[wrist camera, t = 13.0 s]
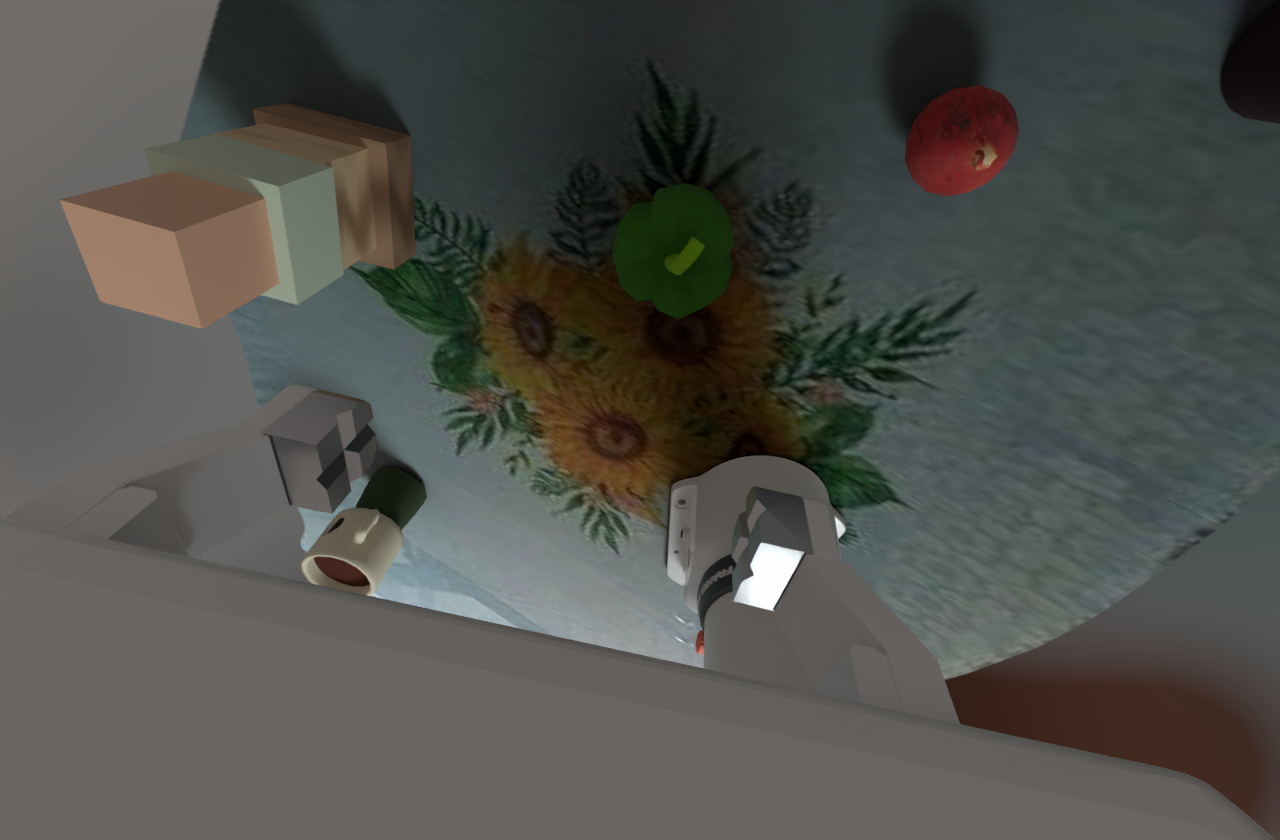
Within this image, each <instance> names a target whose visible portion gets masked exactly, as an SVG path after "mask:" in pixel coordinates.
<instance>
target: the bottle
mask: <svg viewBox="0 0 1280 840" xmlns="http://www.w3.org/2000/svg"><path fill="white" fill-rule="evenodd" d="M1223 97H1224V98H1225V100H1226V102H1227V104H1228V106H1229V108H1230V109H1231V110H1232V111H1234V112H1236V113H1237V114H1239V115H1241V116H1242V117H1244V118H1248V119H1254V120H1260V121H1266V122H1273V123H1279V124H1280V1H1279V2H1278V3H1276V4H1275V5H1274V6H1272V7H1271V8H1270V9H1268V10H1267V11H1266V12H1265V13H1263V14H1262V15H1261V16H1260V17H1259V18H1258V19H1257V21H1256V22H1255V23H1254V24H1253V25H1252V26H1251V27H1250V28H1249V29H1248V30H1247V32H1246V33H1245V34H1244V35H1243V36H1242V38H1241V39H1240V41H1239V43H1238V44H1237V46H1236V47H1235V49H1234V51H1233V52H1232V54H1231V56H1230V57H1229V60H1228V63H1227V66H1226V69H1225V72H1224V76H1223Z"/></svg>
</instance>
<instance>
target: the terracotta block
mask: <svg viewBox="0 0 1280 840" xmlns="http://www.w3.org/2000/svg"><path fill="white" fill-rule="evenodd" d="M60 202H61V204H62V207H63V209H64V212H65V214H66V217H67V219H68V222H69V224H70V227H71V229H72V232H73V234H74V237H75V239H76V242H77V244H78V247H79V249H80V252H81V254H82V257H83V259H84V262H85V264H86V267H87V269H88V271H89V274H90V277H91V279H92V282H93V284H94V286H95V289H96V292H97V294H98V297H99V299H100V301H101V302H104V303H108V304H112V305H115V306H119V307H123V308H126V309H130V310H134V311H138V312H142V313H145V314H149V315H152V316H156V317H160V318H164V319H167V320H171V321H175V322H178V323H183V324H186V325H189V326H193V327H197V328H201V329H202V328H204V327H206V326H208V325H209V324H211V323H213V322H214V321H216V320H218V319H220V318H221V317H223V316H225V315H226V314H228V313H230V312H232V311H233V310H235V309H237V308H238V307H240V306H242V305H244V304H245V303H247V302H249V301H251V300H252V299H254V298H256V297H257V296H259V295H261V294H263V293H264V292H266V291H268V290H269V289H271V288H273V287H275V286H276V285H278V284H280V282H279V276H278V270H277V265H276V259H275V253H274V247H273V241H272V236H271V230H270V224H269V218H268V212H267V207H266V201H265V198H262V197H259V196H255V195H252V194H248V193H245V192H241V191H238V190H235V189H231V188H228V187H224V186H221V185H217V184H214V183H210V182H207V181H203V180H200V179H196V178H193V177H189V176H186V175H182V174H179V173H175V172H172V171H170V172H166V173H162V174H158V175H155V176H151V177H147V178H143V179H139V180H135V181H131V182H128V183H124V184H120V185H116V186H112V187H108V188H105V189H100V190H97V191H93V192H89V193H85V194H81V195H78V196H73V197H70V198H66V199H62V200H60Z"/></svg>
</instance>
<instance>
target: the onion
mask: <svg viewBox="0 0 1280 840" xmlns="http://www.w3.org/2000/svg"><path fill="white" fill-rule="evenodd" d="M1018 131H1019V127H1018V122H1017V117H1016V112H1015V110H1014V108H1013V107H1012V105H1011V104H1010V103H1009V101H1008V100H1007V99H1006V98H1005V96H1004V95H1003V94H1001V93H1000V92H997V91H995V90H992V89H989V88H986V87H983V86H972V87H963V88H955V89H951V90H949V91H948V92H946V93H944V94H942V95H940V96H939V97H937V98H935V99H933V100H932V101H930V102H929V103H928V105H927V106H926V107H925V108H924V109H923V110H922V112H921V113H920V114H919V115H918V116H917V117H916V119H915V120H914V122H913V125H912V127H911V130H910V132H909V135H908V138H907V140H906V155H905V160H906V164H907V166H908V169H909V171H910V174H911V177H912V179H913V180H914V181H915V182H916V183H917V184H918V185H919V186H921V187H922V188H923V189H924V190H925V191H927V192H930V193H934V194H939V195H944V196H951V195H957V194H962V193H967V192H969V191H972V190H974V189H976V188H977V187H979V186H981V185H983V184H985V183H987V182H989V181H990V180H991V179H992V178H993V177H994V176H995V175H996V174H997V173H998V172H999V171H1000V170H1001V169H1002V168H1003V167H1004V166H1005V164H1006V162H1007V161H1008V159H1009V157H1010V156H1011V154H1012V152H1013V151H1014V149H1015V145H1016V140H1017V136H1018Z"/></svg>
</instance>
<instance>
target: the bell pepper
mask: <svg viewBox="0 0 1280 840" xmlns="http://www.w3.org/2000/svg"><path fill="white" fill-rule="evenodd" d="M733 246H734V239H733V233H732V228H731V223H730V218H729V213H728V212H727V211H726V209H725V208H724V207H723V206H722V205H721V204H720V203H719V201H718V200H717V199H716V198H715V197H714V196H713V195H712V193H711V192H710V191H709V190H706V189H703V188H700V187H697V186H693V185H690V184H687V183H683V184H679V185H674V186H669V187H665V188H660V189H657V191H656V193H655V196H654V198H653V200H652V202H642V203H638V204H635V205H633V206H632V207H631V208H630V210H629V211H628V212H627V213H626V215H625V216H624V217H623V218H622V219H621V221H620V223H619V224H618V226H617V228H616V233H615V239H614V245H613V252H612V257H613V261H614V264H615V268H616V272H617V275H618V279H619V283H620V286H621V287H622V288H623V289H624V290H625V291H626V292H627V293H628V294H629V295H630V296H631V297H632V298H633V299H634V300H635V301H637V302H640V301H645V300H649V299H651V300H652V302H653V304H654V305H655V307H656V308H657V310H659V311H661V312H663V313H665V314H667V315H670V316H672V317H674V318H676V319H680V318H682V317H684V316H687V315H689V314H691V313H693V312H695V311H697V310H699V309H702V308H704V307H705V306H707V305H708V304H709V303H711V302H712V301H714V300H715V299H716V298H718V297H719V296H720V295H722V294H723V293H724V292H726V290H727V286H728V282H729V278H730V275H731V271H732V259H731V256H730V254H729V252H730V250H731V249H732V247H733Z"/></svg>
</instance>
